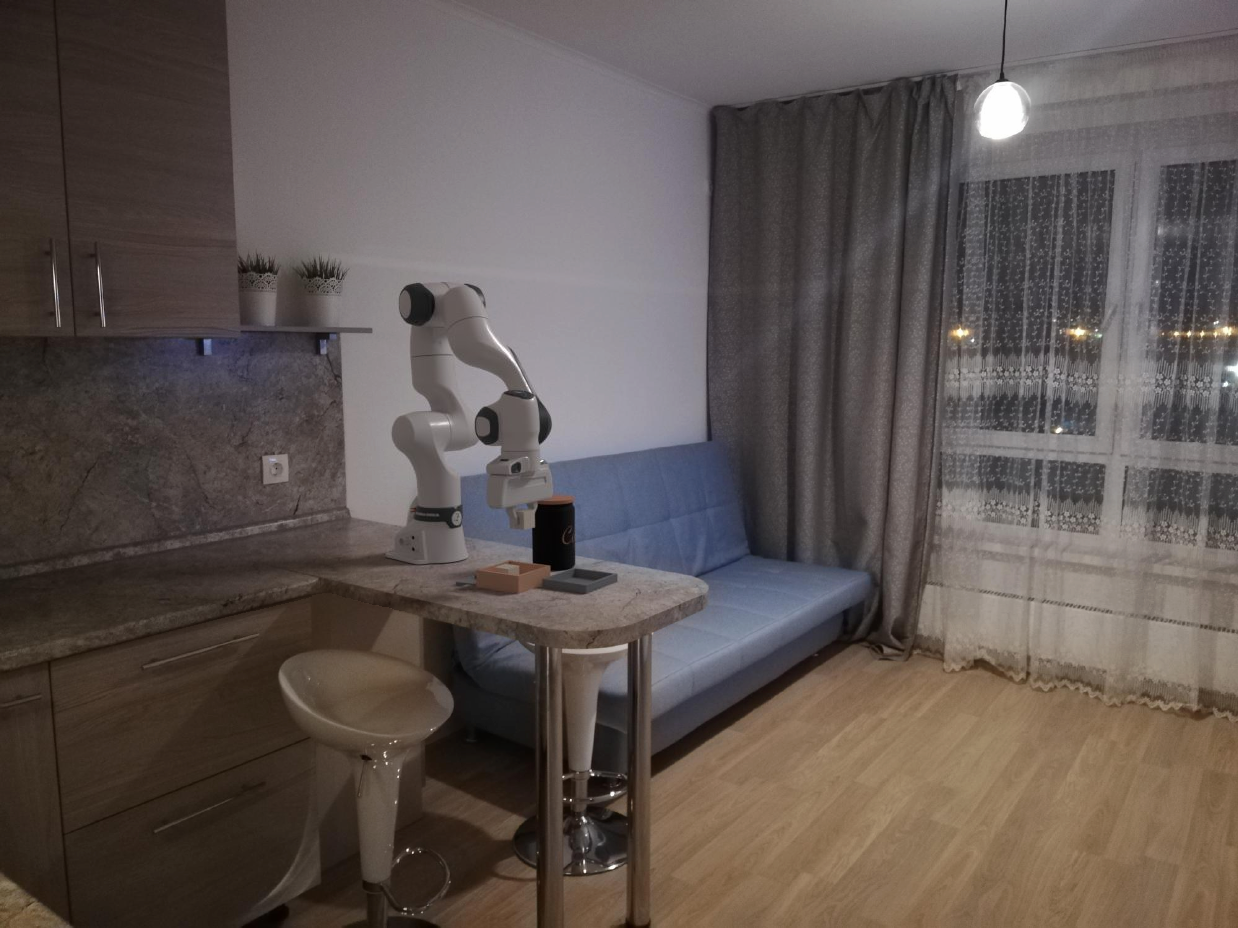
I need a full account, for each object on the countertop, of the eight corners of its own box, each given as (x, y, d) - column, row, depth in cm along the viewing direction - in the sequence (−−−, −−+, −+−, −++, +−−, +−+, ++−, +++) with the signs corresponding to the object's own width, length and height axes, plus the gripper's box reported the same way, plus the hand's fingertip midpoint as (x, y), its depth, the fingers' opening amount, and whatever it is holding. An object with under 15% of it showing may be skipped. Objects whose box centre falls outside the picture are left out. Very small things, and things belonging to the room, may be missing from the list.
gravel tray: (542, 589, 209) (542, 578, 209) (574, 577, 220) (574, 567, 220) (586, 596, 203) (586, 585, 202) (617, 584, 214) (617, 573, 213)
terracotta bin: (476, 589, 209) (476, 569, 209) (509, 578, 219) (509, 560, 219) (518, 596, 203) (518, 576, 203) (550, 584, 213) (550, 565, 213)
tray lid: (455, 585, 213) (455, 578, 213) (479, 575, 222) (478, 569, 222) (481, 587, 211) (481, 581, 210) (504, 578, 220) (503, 571, 219)
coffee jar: (569, 574, 224) (568, 501, 222) (527, 572, 226) (526, 500, 224) (580, 565, 234) (579, 495, 232) (539, 563, 236) (538, 493, 234)
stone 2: (510, 528, 208) (509, 510, 207) (520, 525, 211) (520, 508, 211) (524, 529, 205) (523, 512, 205) (534, 527, 209) (534, 509, 208)
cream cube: (494, 584, 212) (494, 567, 211) (505, 580, 215) (505, 563, 215) (508, 586, 210) (508, 569, 209) (519, 582, 213) (519, 565, 212)
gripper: (537, 458, 217) (538, 516, 219) (480, 466, 200) (482, 529, 201) (558, 459, 214) (560, 518, 215) (503, 467, 197) (505, 531, 198)
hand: (522, 523), depth 208 cm, fingers closed on stone 2, 4 cm apart
